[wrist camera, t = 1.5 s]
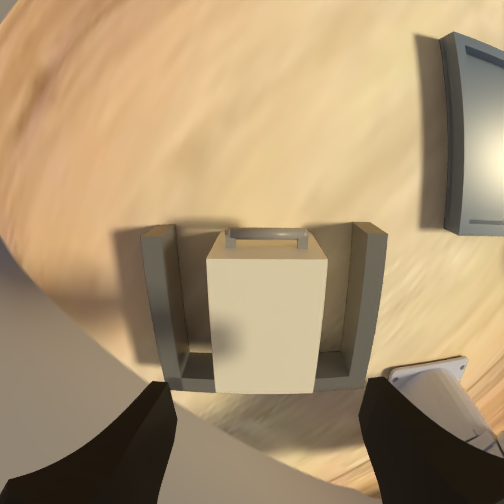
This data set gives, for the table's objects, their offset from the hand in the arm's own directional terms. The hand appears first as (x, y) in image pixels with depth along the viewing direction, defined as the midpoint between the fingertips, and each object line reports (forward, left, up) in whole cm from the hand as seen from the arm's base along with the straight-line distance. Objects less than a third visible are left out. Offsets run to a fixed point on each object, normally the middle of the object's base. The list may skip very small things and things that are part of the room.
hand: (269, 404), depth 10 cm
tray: (+11, -18, -11) cm, 23 cm away
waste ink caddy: (0, 0, -11) cm, 11 cm away
